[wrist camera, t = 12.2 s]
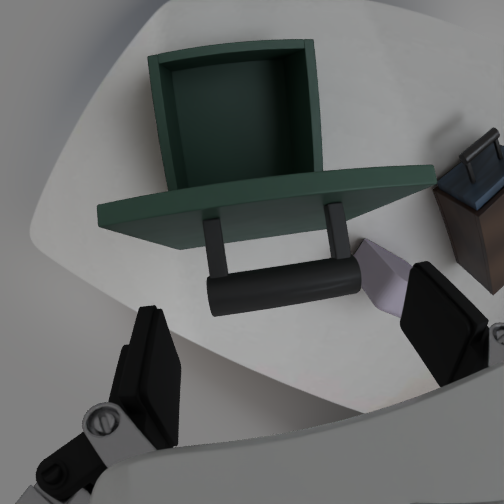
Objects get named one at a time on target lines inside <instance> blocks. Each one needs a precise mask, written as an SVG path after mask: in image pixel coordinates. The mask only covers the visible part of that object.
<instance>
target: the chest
mask: <svg viewBox="0 0 504 504" xmlns="http://www.w3.org/2000/svg"><path fill="white" fill-rule="evenodd" d="M147 58H148V66H149V74H150V82H151V90H152V97H153V104H154V111H155V117H156V124H157V130H158V136H159V142H160V148H161V154H162V160H163V165H164V171H165V176H166V182H167V187H168V191H173V190H179V189H185V188H191V187H197V186H204V185H210V184H217V183H224V182H231V181H238V180H246V179H254V178H262V177H270V176H279V175H288V174H297V173H307V172H318V171H323V157H322V136H321V120H320V105H319V92H318V80H317V69H316V59H315V49H314V40H313V39H304V40H303V39H285V40H261V41H246V42H235V43H225V44H217V45H209V46H201V47H195V48H188V49H182V50H177V51H171V52H166V53H161V54H158V55H157V54H156V55H152V56H148V57H147Z"/></svg>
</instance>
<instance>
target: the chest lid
mask: <svg viewBox="0 0 504 504" xmlns="http://www.w3.org/2000/svg"><path fill="white" fill-rule="evenodd" d="M435 184H437V178H436V174H435V170H434V166H433V165H407V166H386V167H369V168H354V169H341V170H329V171H318V172H307V173H297V174H288V175H279V176H270V177H262V178H254V179H246V180H238V181H231V182H224V183H217V184H210V185H204V186H197V187H191V188H185V189H179V190H173V191H167V192H161V193H156V194H150V195H145V196H139V197H134V198H129V199H124V200H119V201H114V202H109V203H104V204H99V205H97V216H98V226H99V227H101V228H104V229H108V230H111V231H115V232H118V233H122V234H125V235H129V236H132V237H136V238H139V239H143V240H146V241H150V242H153V243H157V244H160V245H164V246H168V247H171V248H175V249H178V250H183V249H190V248H196V247H203V246H206V253H207V260H208V267H209V274H210V276H209V277H207V294H208V300H209V306H210V310H211V313H212V315H213V316H214V317H216V316H223V315H230V314H237V313H244V312H250V311H257V310H263V309H270V308H276V307H282V306H288V305H294V304H300V303H306V302H311V301H317V300H322V299H328V298H333V297H339V296H344V295H349V294H354V293H357V292H359V291H360V289H361V283H362V277H361V270H360V266H359V263H358V261H357V259H356V258H355V257H354V256H353V255H351V250H350V244H349V237H348V231H347V225H346V221H347V220H350V219H352V218H355V217H357V216H360V215H362V214H365V213H367V212H369V211H372V210H374V209H377V208H379V207H382V206H384V205H387V204H389V203H392V202H394V201H396V200H399V199H401V198H404V197H406V196H409V195H411V194H414V193H416V192H418V191H421V190H423V189H426V188H428V187H431V186H433V185H435ZM323 229H327V232H328V239H329V245H330V252H331V258H329V259H322V260H316V261H309V262H303V263H297V264H290V265H283V266H277V267H270V268H264V269H257V270H250V271H243V272H237V273H230V274H228V269H227V262H226V255H225V248H224V243H230V242H237V241H244V240H251V239H258V238H265V237H272V236H280V235H287V234H294V233H301V232H308V231H316V230H323Z"/></svg>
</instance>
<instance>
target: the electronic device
mask: <svg viewBox="0 0 504 504" xmlns="http://www.w3.org/2000/svg"><path fill="white" fill-rule="evenodd" d="M354 257H355V258H356V259H357V261H358V263H359V266H360V270H361V277H362V283H361V287H362V288H363V289H364V291H365V292H366V294H367V295H368V297H369V298H370V300H371V301H372V302H373V304H374V305H375V306H376V307H377V308H378V309H380V310H382V311H385V312H387V313H389V314H392V315H394V316H397V317H399V318H401V315H402V310H403V305H404V300H405V295H406V290H407V284H408V278H409V272H410V269H411V268H413V266H411V265H410V264H409V263H407V262H406V261H405V260H403V259H401V258H399V257H398V256H396V255H394V254H393V253H391V252H389V251H387V250H386V249H384V248H382V247H380V246H379V245H377V244H375V243H373V242H371V241H370V240H368V239H364V241H363V242H362V244H361V245H360V247H359V248H358V250H357V251H356V253H355V254H354Z"/></svg>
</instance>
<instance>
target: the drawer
mask: <svg viewBox="0 0 504 504" xmlns="http://www.w3.org/2000/svg"><path fill="white" fill-rule="evenodd" d="M499 136H500V134H499V132H498V130H497V129H496V128H492V129H490V130H489V131H488V132H487V133H486V134H484V135H483V136H482V137H481V138H480V139H478V140H477V141H476V142H475V143H474V144H472V145H471V146H470V147H469V148H467V149H466V150H465V151H464V152H463V153H461V154H460V155H459V159H460V161H461V163H460V164H458V165H457V166H456V167H455V168H453V169H452V170H451V171H450V172H448V173H447V174H446V175H445V176H443V177H442V178H441V179H440V180H438V181H437V185H438V187H439V189H440V190H442V191H444V192H446V193H447V194H449V195H451V196H453V197H454V198H456V199H458V200H460V201H461V202H463V203H465V204H467V205H468V206H470V207H472V208H473V209H475V210H478V211H479V210H480V209H481V208H482V207H483V206H485V205H486V204H487V203H488V202H489V201H490V200H491V199H492V198H493V197H494V196H495V195H496V194H497V193H499V192H500V191H501V190H502V189H503V188H504V146H502V145H499V141H498V138H499Z"/></svg>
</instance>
